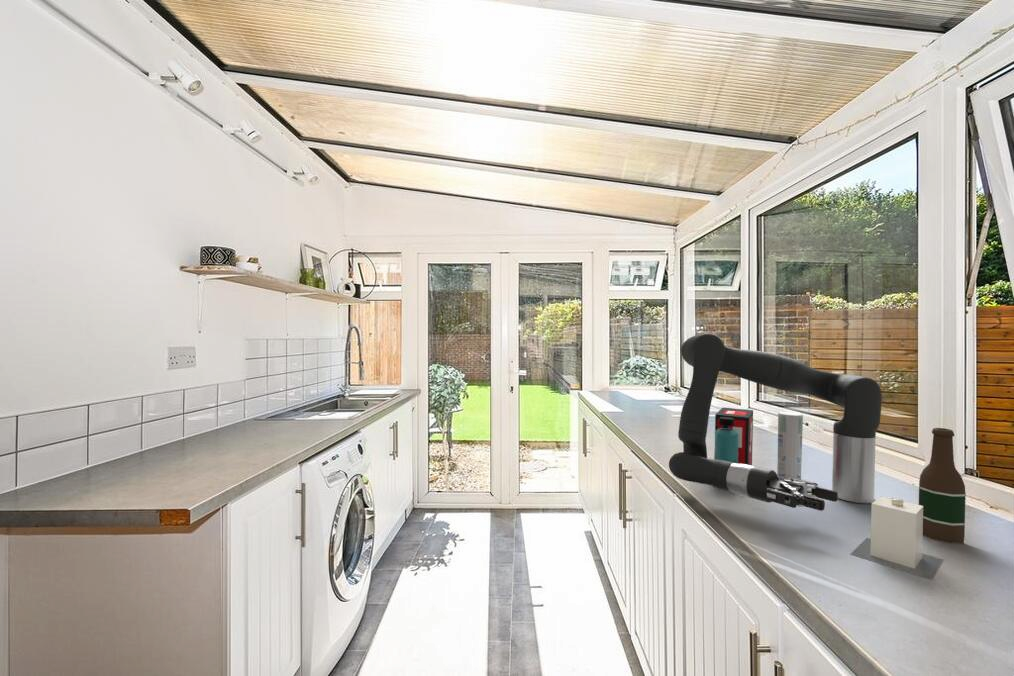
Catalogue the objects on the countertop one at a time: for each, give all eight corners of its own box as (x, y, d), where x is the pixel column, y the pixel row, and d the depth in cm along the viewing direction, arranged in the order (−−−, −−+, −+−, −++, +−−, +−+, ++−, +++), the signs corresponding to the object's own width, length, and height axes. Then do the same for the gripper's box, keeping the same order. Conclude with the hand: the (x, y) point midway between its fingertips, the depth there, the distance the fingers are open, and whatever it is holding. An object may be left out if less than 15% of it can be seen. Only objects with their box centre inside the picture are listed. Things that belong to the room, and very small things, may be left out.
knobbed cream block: (879, 545, 95) (880, 491, 95) (921, 558, 90) (923, 500, 90) (870, 555, 91) (871, 498, 91) (914, 568, 86) (916, 508, 85)
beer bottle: (956, 550, 95) (959, 434, 95) (909, 535, 102) (912, 427, 102) (971, 542, 99) (974, 431, 99) (925, 528, 106) (928, 424, 105)
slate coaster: (866, 541, 99) (866, 537, 99) (943, 563, 89) (943, 559, 89) (849, 558, 91) (850, 554, 91) (931, 584, 82) (932, 579, 82)
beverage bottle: (741, 491, 130) (742, 420, 129) (715, 489, 131) (717, 418, 131) (734, 483, 136) (736, 416, 136) (710, 482, 137) (712, 414, 137)
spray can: (803, 482, 138) (805, 416, 138) (778, 479, 140) (780, 414, 140) (798, 476, 144) (800, 412, 144) (774, 474, 146) (776, 411, 146)
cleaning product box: (721, 467, 152) (722, 407, 152) (751, 472, 148) (753, 410, 148) (714, 480, 138) (715, 414, 138) (747, 486, 134) (748, 417, 134)
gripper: (738, 471, 106) (820, 490, 94) (764, 461, 116) (841, 477, 103) (738, 503, 107) (819, 527, 94) (763, 491, 116) (841, 510, 103)
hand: (831, 501), depth 99 cm, fingers open, 8 cm apart
